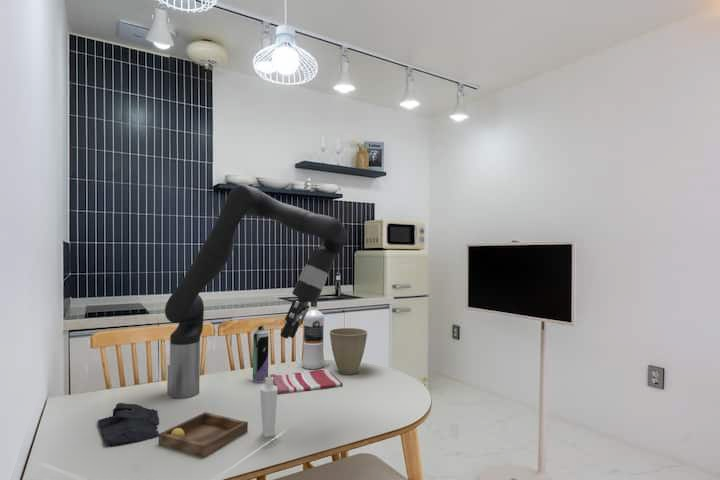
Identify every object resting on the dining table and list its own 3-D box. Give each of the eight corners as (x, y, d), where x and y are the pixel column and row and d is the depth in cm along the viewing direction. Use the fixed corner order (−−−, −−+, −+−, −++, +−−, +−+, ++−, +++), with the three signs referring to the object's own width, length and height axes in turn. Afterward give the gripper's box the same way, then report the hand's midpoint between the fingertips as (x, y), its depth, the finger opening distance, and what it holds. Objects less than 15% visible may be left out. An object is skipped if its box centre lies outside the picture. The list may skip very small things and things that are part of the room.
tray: (158, 446, 103) (158, 433, 103) (204, 423, 117) (204, 412, 117) (204, 460, 97) (204, 446, 97) (247, 433, 110) (247, 422, 110)
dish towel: (268, 380, 155) (268, 373, 155) (329, 374, 164) (329, 367, 164) (276, 396, 140) (276, 388, 140) (343, 388, 148) (343, 380, 148)
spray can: (264, 383, 151) (264, 327, 151) (250, 382, 152) (250, 327, 152) (270, 378, 156) (271, 324, 156) (256, 377, 157) (257, 324, 157)
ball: (167, 442, 104) (167, 429, 104) (177, 437, 107) (178, 424, 107) (176, 445, 102) (177, 432, 103) (187, 440, 105) (187, 427, 105)
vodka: (322, 362, 178) (323, 291, 178) (326, 369, 169) (326, 294, 169) (300, 364, 176) (301, 292, 176) (303, 370, 167) (303, 294, 167)
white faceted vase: (260, 432, 112) (261, 375, 112) (277, 431, 112) (278, 375, 112) (258, 440, 107) (258, 381, 107) (275, 439, 107) (276, 380, 108)
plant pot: (368, 377, 159) (369, 335, 159) (329, 378, 158) (329, 335, 158) (365, 366, 174) (365, 327, 174) (329, 366, 173) (329, 327, 173)
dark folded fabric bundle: (94, 455, 100) (94, 435, 100) (98, 421, 119) (98, 404, 119) (165, 441, 107) (165, 422, 107) (158, 411, 126) (158, 395, 126)
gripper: (302, 281, 128) (280, 332, 125) (294, 275, 114) (268, 331, 111) (325, 291, 127) (303, 342, 124) (319, 286, 113) (294, 343, 110)
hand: (286, 337), depth 118 cm, fingers open, 8 cm apart
